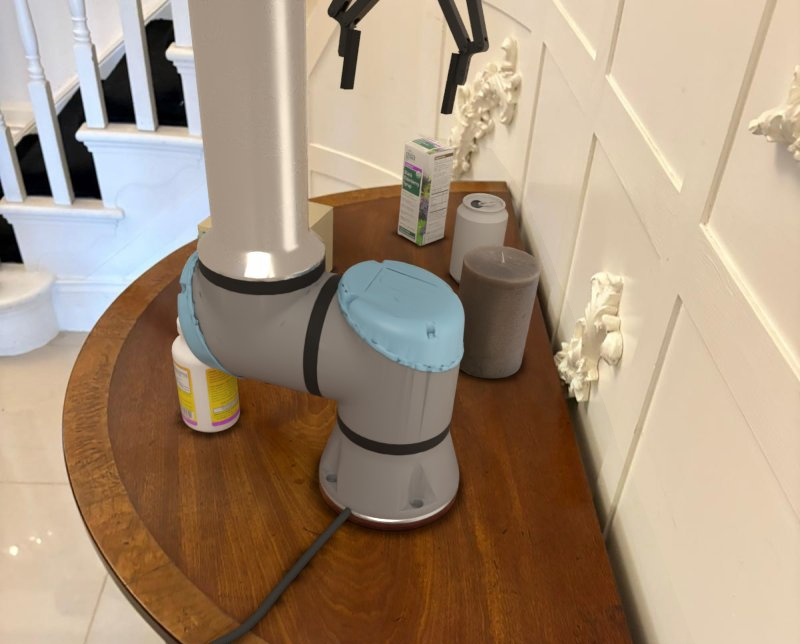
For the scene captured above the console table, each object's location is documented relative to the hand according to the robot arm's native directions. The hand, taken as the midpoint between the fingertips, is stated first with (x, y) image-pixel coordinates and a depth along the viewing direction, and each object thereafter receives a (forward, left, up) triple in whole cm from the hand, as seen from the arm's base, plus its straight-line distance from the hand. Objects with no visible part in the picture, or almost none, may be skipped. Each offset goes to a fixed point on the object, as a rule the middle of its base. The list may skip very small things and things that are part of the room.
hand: (395, 101), depth 99 cm
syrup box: (+19, +1, -25) cm, 32 cm away
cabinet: (-6, +16, -25) cm, 30 cm away
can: (+9, -11, -25) cm, 29 cm away
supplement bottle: (-39, +7, -25) cm, 47 cm away
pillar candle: (-12, -19, -25) cm, 34 cm away
